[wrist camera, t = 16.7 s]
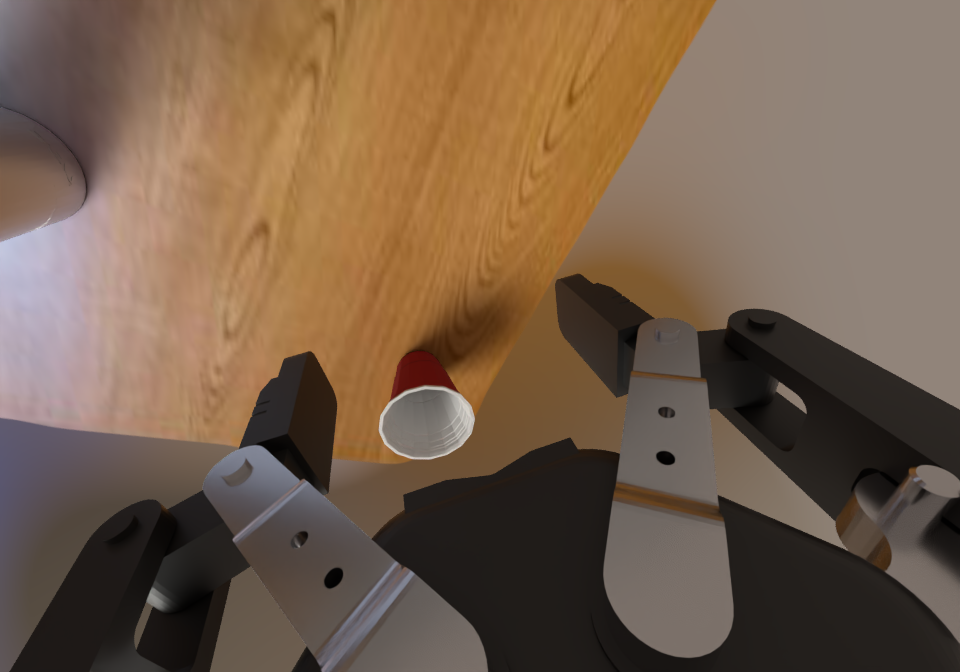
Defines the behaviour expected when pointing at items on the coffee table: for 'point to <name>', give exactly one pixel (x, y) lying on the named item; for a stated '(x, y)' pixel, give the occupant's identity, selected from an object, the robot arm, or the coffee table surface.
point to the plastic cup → (425, 410)
